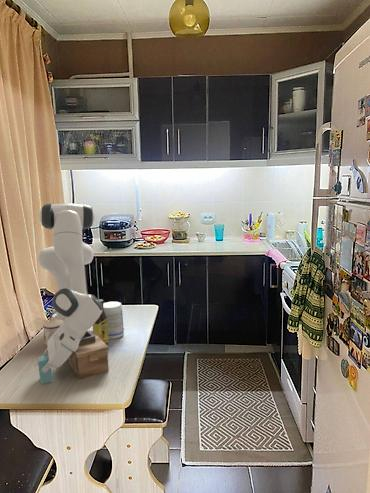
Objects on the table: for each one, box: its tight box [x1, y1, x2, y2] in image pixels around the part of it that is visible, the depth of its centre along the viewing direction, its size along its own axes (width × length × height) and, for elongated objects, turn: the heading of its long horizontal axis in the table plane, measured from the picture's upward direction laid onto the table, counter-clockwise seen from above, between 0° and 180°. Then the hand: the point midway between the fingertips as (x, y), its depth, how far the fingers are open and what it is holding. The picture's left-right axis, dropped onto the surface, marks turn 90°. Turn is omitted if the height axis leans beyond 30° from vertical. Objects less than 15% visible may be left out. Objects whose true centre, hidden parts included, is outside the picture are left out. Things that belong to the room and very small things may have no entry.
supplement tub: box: [103, 301, 125, 340], centre depth 187 cm, size 10×10×15 cm
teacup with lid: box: [42, 316, 64, 346], centre depth 180 cm, size 12×9×12 cm
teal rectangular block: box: [37, 355, 53, 385], centre depth 149 cm, size 4×4×8 cm
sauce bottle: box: [92, 298, 109, 346], centre depth 176 cm, size 6×6×20 cm
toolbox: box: [66, 329, 110, 380], centre depth 159 cm, size 19×12×12 cm, turn 30°
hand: (42, 365), depth 148 cm, fingers open, 8 cm apart
